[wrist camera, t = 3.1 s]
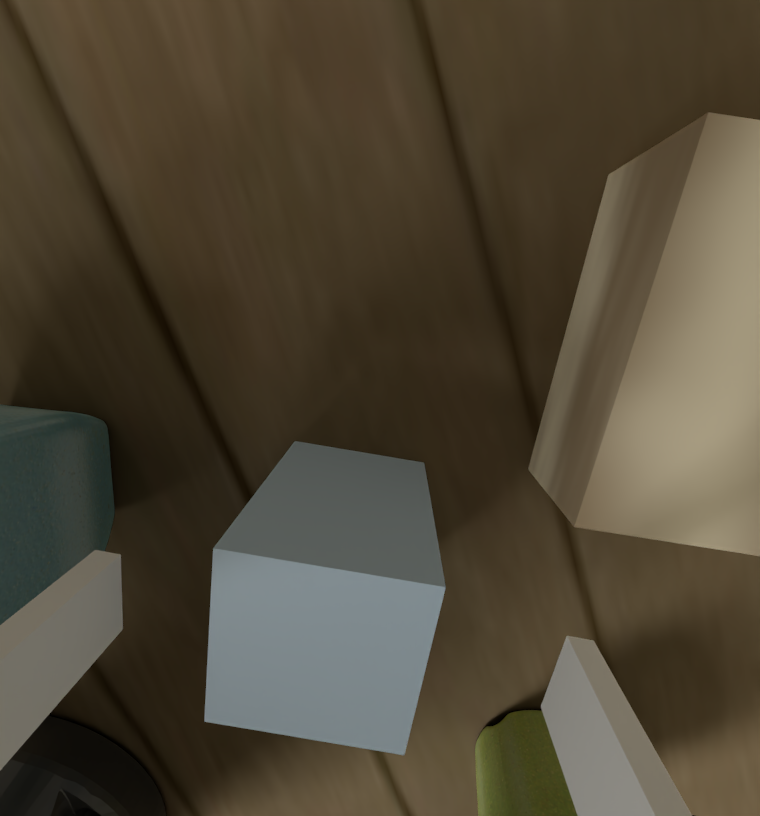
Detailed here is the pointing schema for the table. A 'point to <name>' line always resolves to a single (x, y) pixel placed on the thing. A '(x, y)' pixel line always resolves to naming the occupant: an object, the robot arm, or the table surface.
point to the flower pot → (50, 498)
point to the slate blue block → (326, 601)
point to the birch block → (666, 350)
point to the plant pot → (520, 769)
